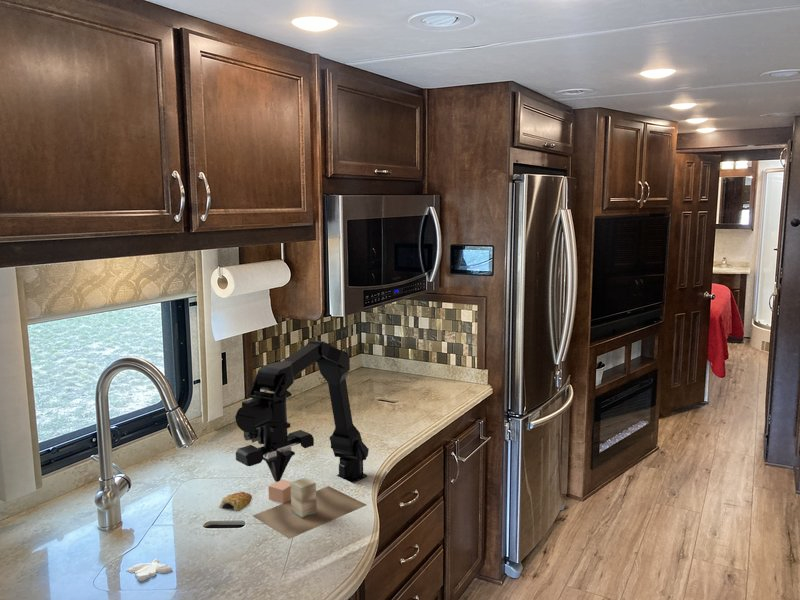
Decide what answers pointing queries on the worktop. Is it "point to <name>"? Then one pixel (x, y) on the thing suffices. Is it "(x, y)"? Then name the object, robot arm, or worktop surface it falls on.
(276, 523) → the walnut board
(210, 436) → the worktop surface
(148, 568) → the acanthus leaf ornament
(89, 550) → the worktop surface
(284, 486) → the terracotta cube
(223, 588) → the worktop surface
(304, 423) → the worktop surface
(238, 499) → the pastry
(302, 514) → the maple block
